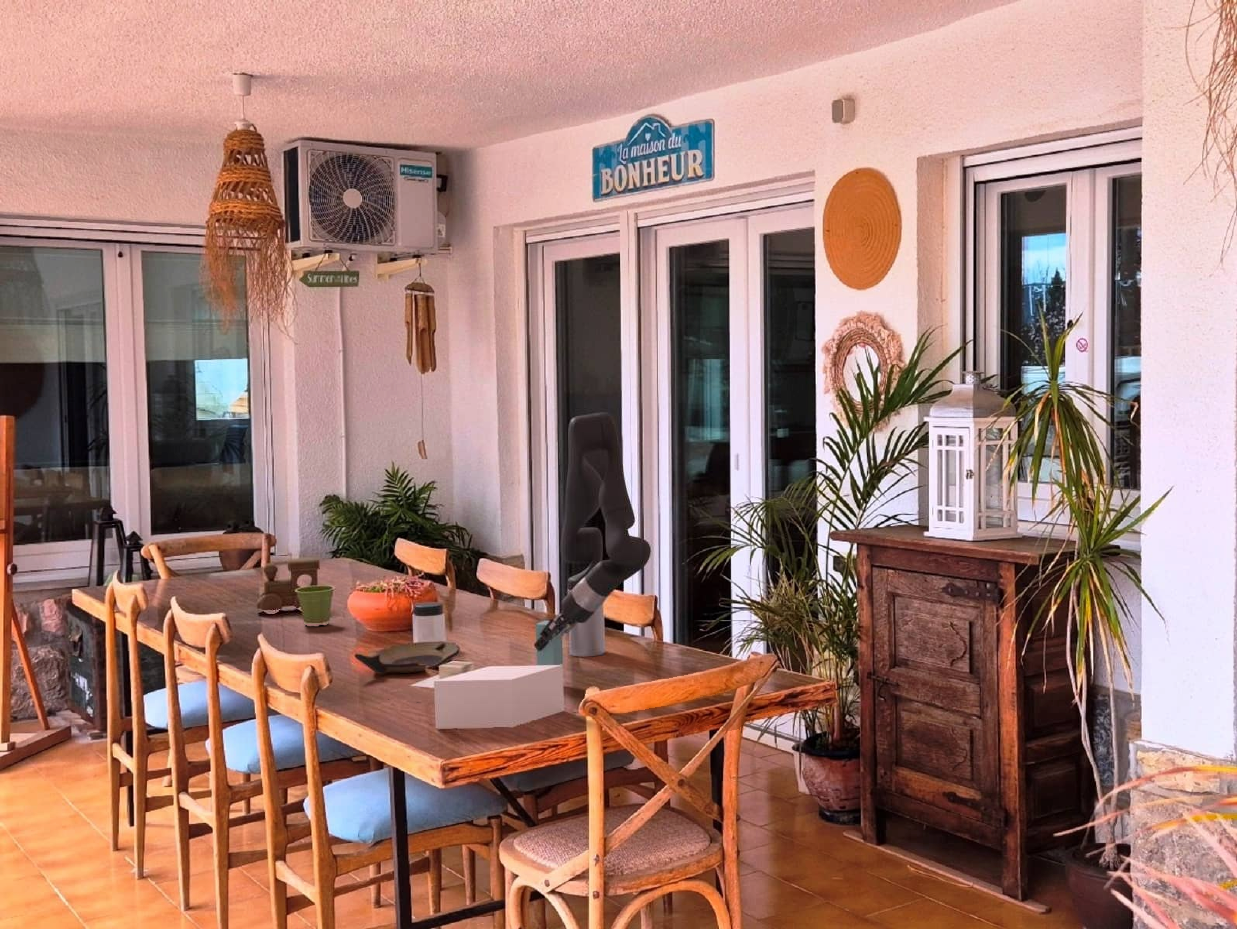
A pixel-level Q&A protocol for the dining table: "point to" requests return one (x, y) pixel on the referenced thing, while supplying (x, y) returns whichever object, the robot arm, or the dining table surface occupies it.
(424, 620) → the jar
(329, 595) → the plant pot
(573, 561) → the robot arm
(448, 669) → the lower block
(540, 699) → the wide white block
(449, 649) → the oil lamp
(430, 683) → the build board
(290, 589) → the wooden toy train
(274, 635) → the dining table surface
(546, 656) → the tall block
